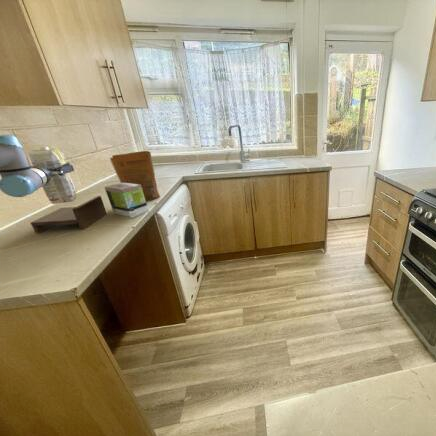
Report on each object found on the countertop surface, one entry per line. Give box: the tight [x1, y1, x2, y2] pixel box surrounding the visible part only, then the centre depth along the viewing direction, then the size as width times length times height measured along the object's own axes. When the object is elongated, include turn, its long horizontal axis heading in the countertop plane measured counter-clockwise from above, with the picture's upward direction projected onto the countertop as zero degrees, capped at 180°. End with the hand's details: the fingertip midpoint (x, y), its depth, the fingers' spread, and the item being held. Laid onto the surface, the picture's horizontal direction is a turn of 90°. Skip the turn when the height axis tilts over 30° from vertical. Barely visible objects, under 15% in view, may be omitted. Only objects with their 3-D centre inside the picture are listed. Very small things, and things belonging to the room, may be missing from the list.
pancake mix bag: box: [109, 150, 161, 202], centre depth 138 cm, size 7×19×28 cm, turn 116°
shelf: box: [30, 195, 108, 234], centre depth 114 cm, size 20×18×10 cm
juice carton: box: [28, 146, 78, 205], centre depth 107 cm, size 9×8×24 cm
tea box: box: [104, 182, 149, 219], centre depth 123 cm, size 15×10×15 cm, turn 63°
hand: (54, 167), depth 109 cm, fingers closed on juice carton, 9 cm apart
